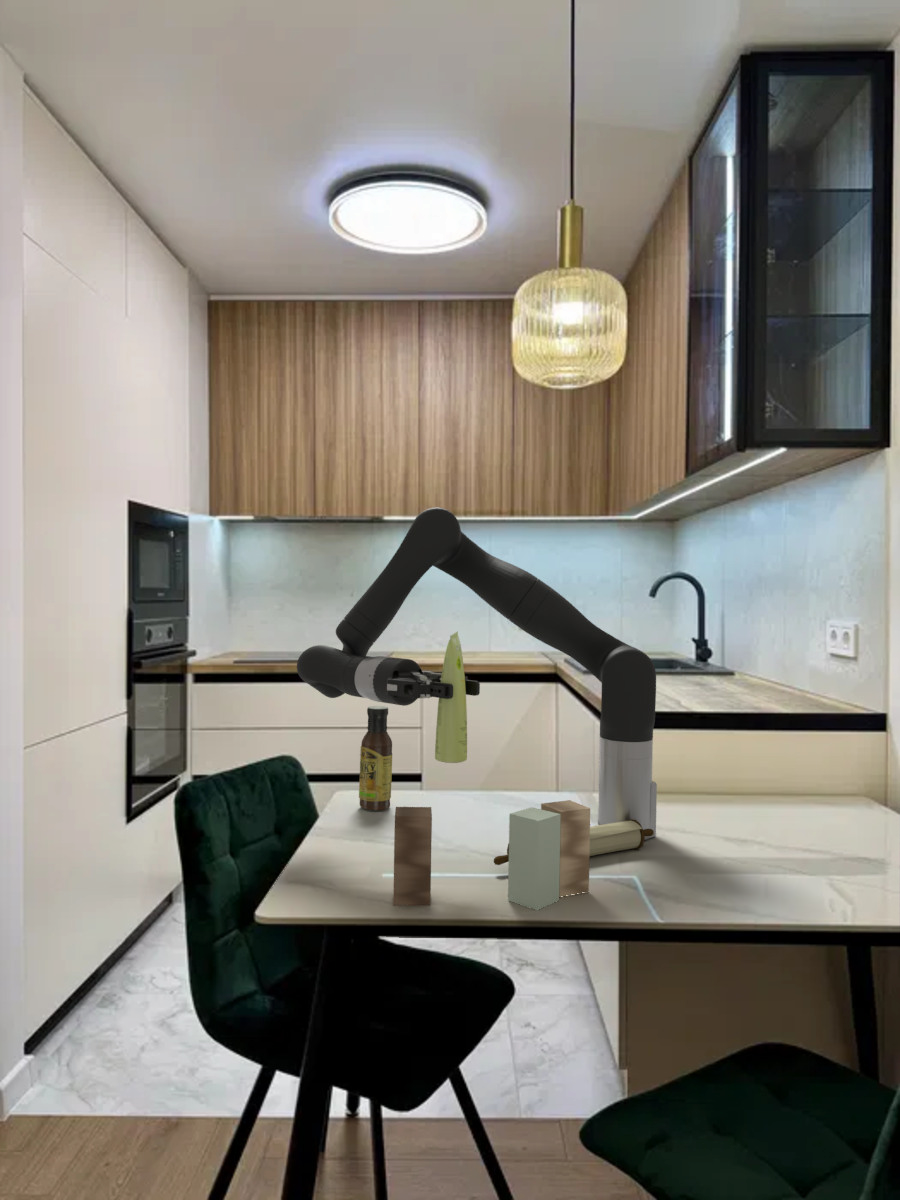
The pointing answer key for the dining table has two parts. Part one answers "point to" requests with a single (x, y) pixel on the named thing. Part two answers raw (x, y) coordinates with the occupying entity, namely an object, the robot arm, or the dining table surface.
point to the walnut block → (412, 856)
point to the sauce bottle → (376, 762)
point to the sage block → (534, 857)
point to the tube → (452, 708)
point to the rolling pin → (608, 838)
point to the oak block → (572, 845)
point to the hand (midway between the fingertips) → (464, 690)
